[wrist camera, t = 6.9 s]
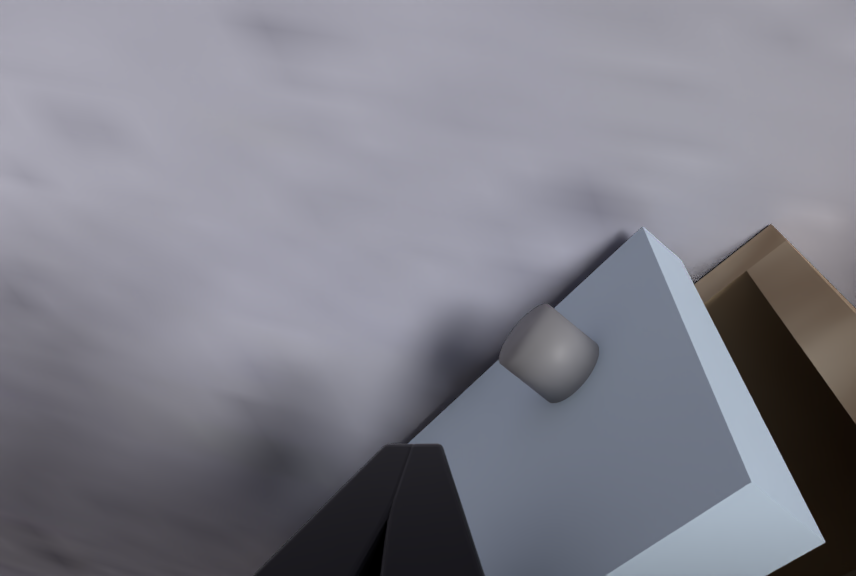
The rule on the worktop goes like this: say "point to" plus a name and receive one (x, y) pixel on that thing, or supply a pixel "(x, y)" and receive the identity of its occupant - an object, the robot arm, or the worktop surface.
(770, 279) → the cabinet
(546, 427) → the door
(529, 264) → the worktop surface
